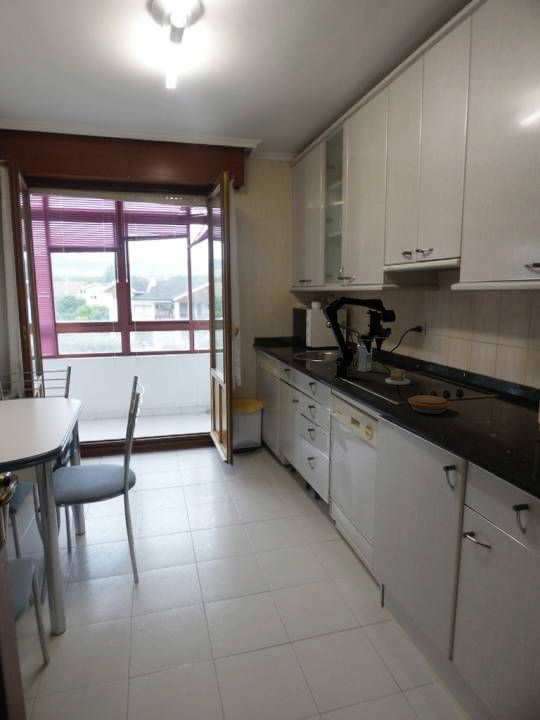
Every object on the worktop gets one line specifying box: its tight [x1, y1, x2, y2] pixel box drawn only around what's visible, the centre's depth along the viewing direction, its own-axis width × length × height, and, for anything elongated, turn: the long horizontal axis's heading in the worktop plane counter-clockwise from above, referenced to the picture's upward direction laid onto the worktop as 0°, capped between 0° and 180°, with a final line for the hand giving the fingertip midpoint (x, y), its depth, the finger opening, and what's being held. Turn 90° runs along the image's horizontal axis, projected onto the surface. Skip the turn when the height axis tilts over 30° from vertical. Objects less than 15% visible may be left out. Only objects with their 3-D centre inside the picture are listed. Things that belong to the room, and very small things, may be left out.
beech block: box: [390, 368, 406, 381], centre depth 224 cm, size 5×5×5 cm
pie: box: [407, 394, 451, 415], centre depth 172 cm, size 16×16×5 cm
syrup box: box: [357, 344, 373, 373], centre depth 255 cm, size 6×6×14 cm
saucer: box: [384, 377, 411, 386], centre depth 224 cm, size 12×12×1 cm
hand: (374, 352), depth 239 cm, fingers open, 9 cm apart
